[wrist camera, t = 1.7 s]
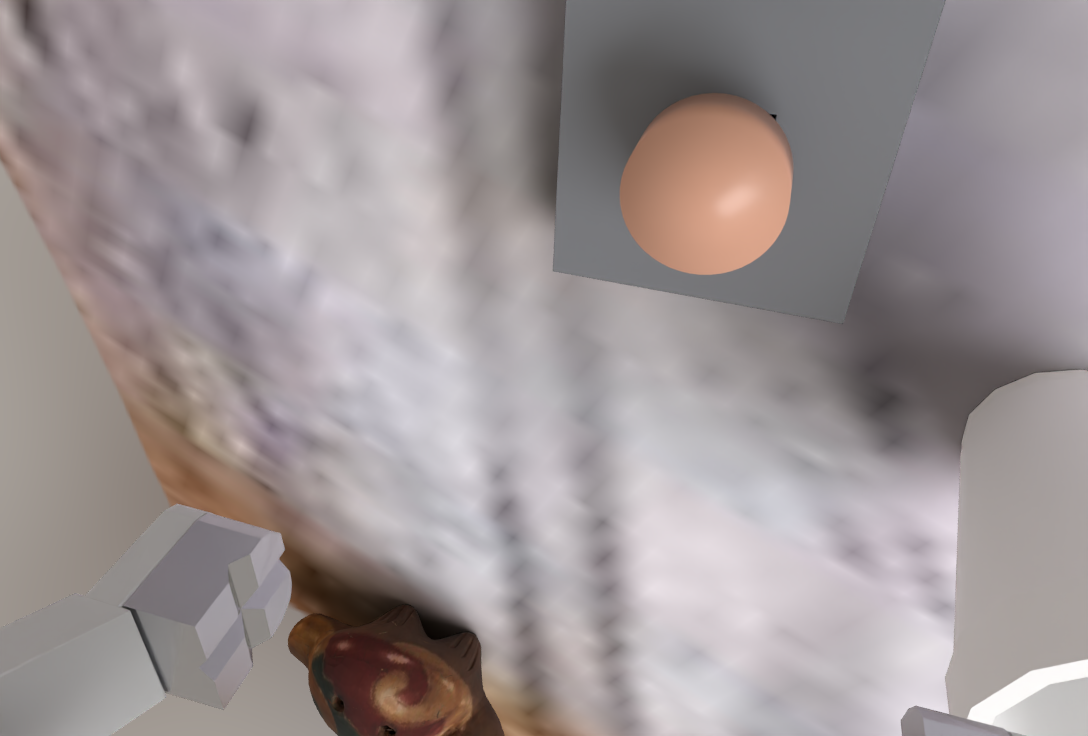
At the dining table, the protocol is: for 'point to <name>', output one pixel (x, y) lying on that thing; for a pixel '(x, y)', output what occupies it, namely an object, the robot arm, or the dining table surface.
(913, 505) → the dining table surface
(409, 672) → the decorative turtle
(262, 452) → the dining table surface
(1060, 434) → the foam cup
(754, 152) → the orange rounded lump
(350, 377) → the dining table surface
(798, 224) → the console
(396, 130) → the dining table surface
